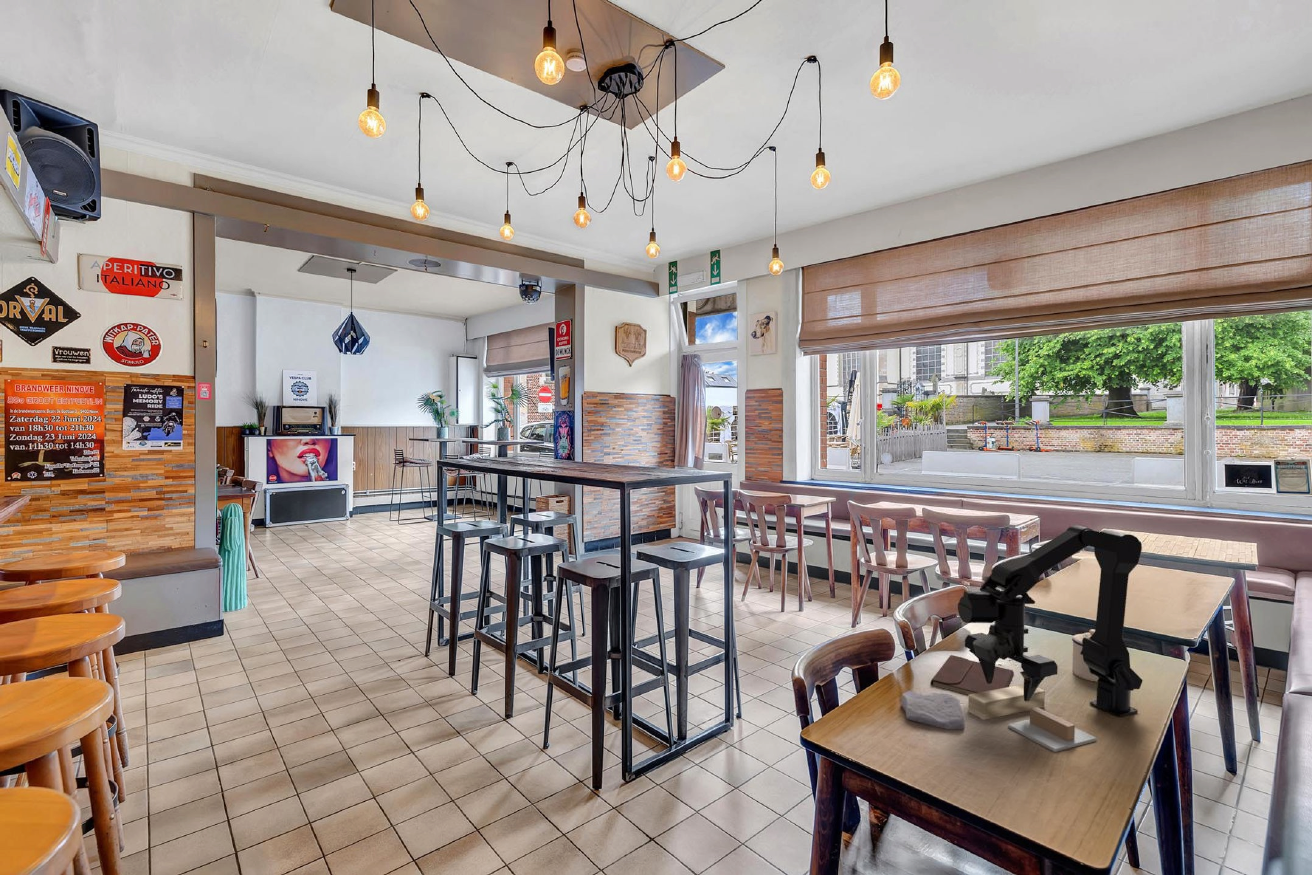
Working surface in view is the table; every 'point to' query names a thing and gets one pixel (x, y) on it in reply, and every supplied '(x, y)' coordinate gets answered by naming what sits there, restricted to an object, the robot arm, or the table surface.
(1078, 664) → the teacup with lid
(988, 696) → the beech bar
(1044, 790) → the table surface
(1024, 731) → the fulcrum stand
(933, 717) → the stone block
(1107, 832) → the table surface
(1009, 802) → the table surface
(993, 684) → the notebook
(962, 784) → the table surface
